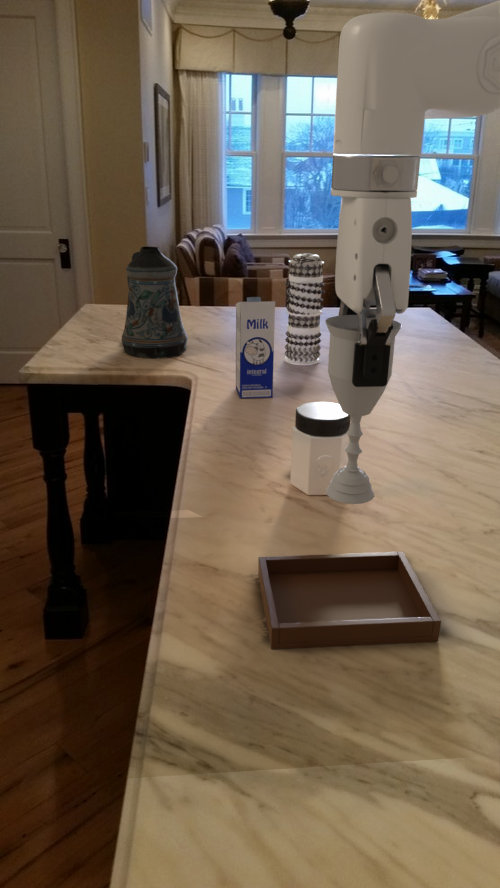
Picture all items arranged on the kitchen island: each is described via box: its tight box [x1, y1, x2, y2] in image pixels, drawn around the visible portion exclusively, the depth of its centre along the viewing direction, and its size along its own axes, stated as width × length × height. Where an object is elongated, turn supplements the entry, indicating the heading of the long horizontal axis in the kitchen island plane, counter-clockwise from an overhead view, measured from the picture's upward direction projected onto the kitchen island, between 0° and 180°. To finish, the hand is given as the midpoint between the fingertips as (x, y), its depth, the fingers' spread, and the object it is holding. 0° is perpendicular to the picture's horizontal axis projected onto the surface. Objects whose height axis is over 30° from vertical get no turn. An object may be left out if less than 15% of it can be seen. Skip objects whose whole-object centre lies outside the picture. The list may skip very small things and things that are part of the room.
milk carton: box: [235, 296, 276, 400], centre depth 144 cm, size 7×7×20 cm
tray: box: [257, 551, 442, 650], centre depth 79 cm, size 18×14×3 cm
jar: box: [289, 401, 351, 496], centre depth 105 cm, size 9×8×12 cm
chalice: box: [324, 315, 403, 505], centre depth 70 cm, size 7×7×18 cm
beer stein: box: [121, 246, 189, 359], centre depth 174 cm, size 16×19×25 cm
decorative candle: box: [284, 253, 326, 366], centre depth 166 cm, size 9×9×25 cm
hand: (359, 372), depth 69 cm, fingers closed on chalice, 6 cm apart
